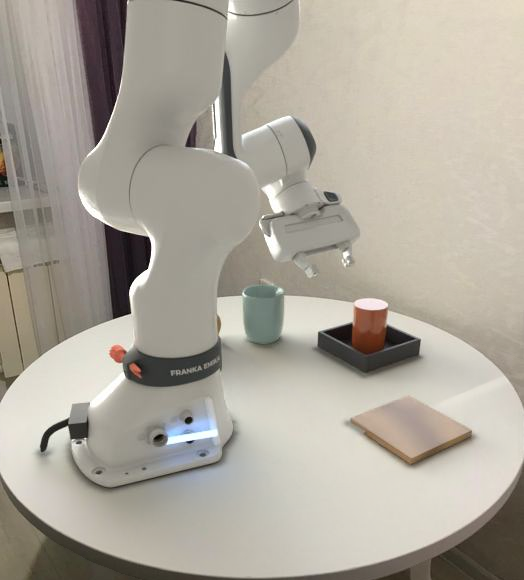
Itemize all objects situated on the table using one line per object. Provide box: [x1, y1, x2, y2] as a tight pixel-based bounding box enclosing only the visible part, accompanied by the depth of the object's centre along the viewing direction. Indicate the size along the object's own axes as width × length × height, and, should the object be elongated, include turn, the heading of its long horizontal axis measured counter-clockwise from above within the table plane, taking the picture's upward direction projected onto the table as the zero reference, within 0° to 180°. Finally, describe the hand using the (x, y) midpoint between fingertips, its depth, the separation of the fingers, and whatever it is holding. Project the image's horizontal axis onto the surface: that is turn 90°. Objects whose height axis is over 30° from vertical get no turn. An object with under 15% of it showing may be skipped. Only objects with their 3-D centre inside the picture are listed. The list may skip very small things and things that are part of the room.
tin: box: [317, 321, 422, 374], centre depth 107 cm, size 13×13×4 cm
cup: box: [241, 284, 285, 345], centre depth 111 cm, size 8×8×10 cm
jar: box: [351, 297, 389, 355], centre depth 105 cm, size 6×6×9 cm
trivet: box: [350, 395, 473, 465], centre depth 84 cm, size 12×12×1 cm
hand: (333, 270), depth 109 cm, fingers open, 8 cm apart
